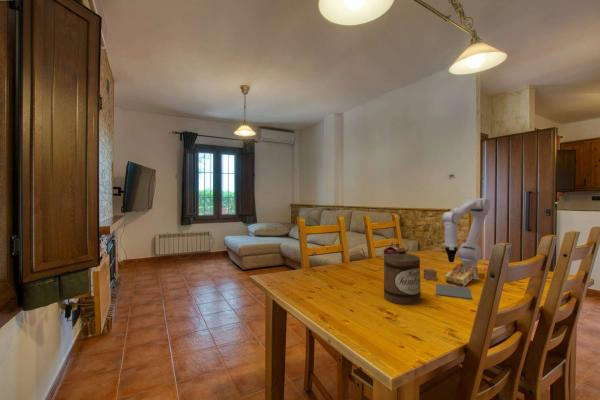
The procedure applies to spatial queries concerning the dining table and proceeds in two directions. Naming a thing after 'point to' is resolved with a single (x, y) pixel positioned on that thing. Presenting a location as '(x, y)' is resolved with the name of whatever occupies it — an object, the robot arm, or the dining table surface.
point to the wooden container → (402, 278)
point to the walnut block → (430, 274)
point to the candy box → (461, 274)
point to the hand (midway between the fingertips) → (451, 261)
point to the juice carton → (391, 249)
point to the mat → (453, 291)
